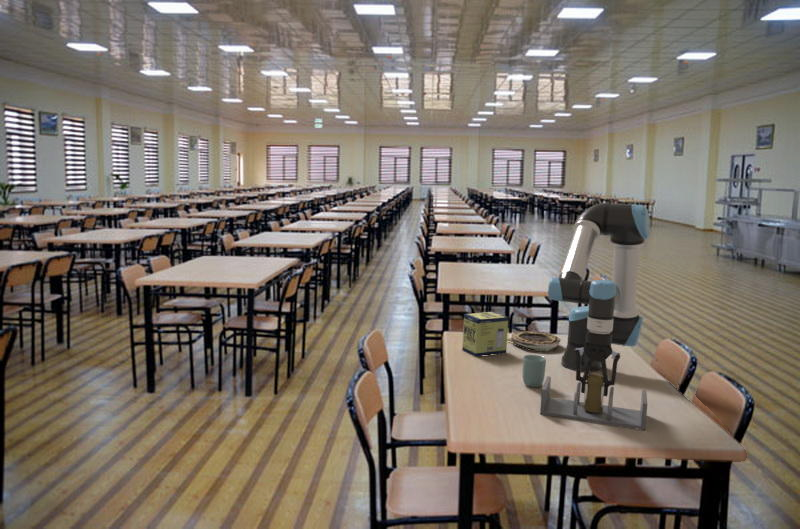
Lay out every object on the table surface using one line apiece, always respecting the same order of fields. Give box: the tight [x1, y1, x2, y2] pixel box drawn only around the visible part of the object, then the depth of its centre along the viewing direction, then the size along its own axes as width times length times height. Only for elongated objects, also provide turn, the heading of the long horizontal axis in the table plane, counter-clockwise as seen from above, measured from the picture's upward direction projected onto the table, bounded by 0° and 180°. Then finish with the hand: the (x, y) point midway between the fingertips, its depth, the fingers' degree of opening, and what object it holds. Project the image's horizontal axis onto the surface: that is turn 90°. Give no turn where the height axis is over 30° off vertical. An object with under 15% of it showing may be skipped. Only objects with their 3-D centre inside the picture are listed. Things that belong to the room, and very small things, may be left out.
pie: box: [507, 330, 562, 352], centre depth 279 cm, size 28×27×5 cm
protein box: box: [461, 311, 509, 357], centre depth 266 cm, size 10×16×16 cm
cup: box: [521, 354, 547, 388], centre depth 226 cm, size 8×8×10 cm
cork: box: [583, 373, 604, 412], centre depth 200 cm, size 6×6×11 cm
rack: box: [539, 375, 648, 430], centre depth 201 cm, size 30×14×8 cm, turn 71°
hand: (593, 404), depth 201 cm, fingers closed on cork, 4 cm apart
